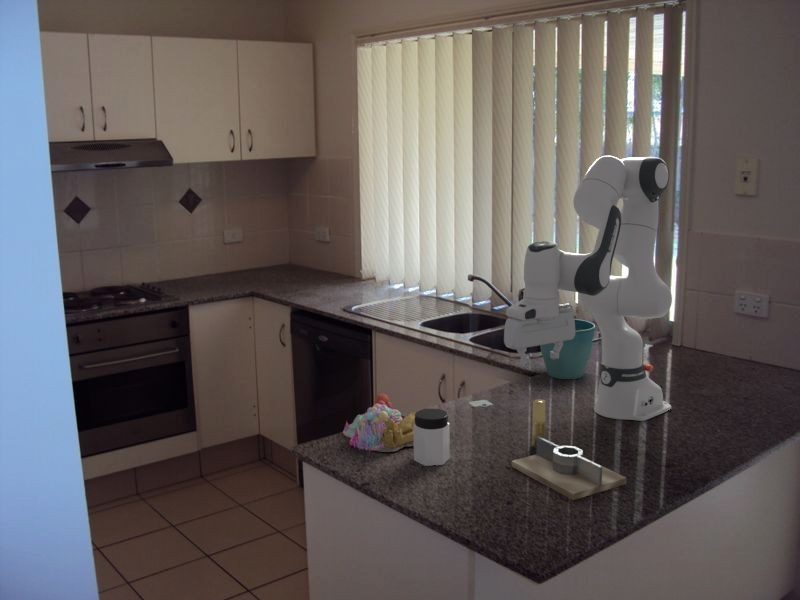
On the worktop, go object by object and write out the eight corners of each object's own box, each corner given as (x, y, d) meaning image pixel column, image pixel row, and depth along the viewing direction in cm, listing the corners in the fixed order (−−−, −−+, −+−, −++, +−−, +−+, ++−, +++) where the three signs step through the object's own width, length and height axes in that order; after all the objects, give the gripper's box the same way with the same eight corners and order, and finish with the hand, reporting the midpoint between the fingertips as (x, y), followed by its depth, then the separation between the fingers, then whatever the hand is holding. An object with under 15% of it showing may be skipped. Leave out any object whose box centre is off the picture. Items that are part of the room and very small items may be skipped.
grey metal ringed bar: (548, 451, 213) (548, 434, 212) (611, 482, 194) (612, 463, 193) (527, 456, 210) (527, 439, 209) (589, 488, 191) (589, 470, 190)
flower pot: (561, 363, 293) (562, 315, 290) (605, 375, 280) (606, 324, 276) (526, 374, 282) (526, 324, 278) (569, 386, 268) (570, 333, 265)
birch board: (562, 453, 215) (562, 447, 215) (626, 484, 197) (626, 477, 197) (511, 466, 208) (511, 460, 207) (572, 500, 189) (573, 493, 189)
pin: (539, 442, 223) (540, 398, 220) (547, 446, 220) (548, 402, 217) (529, 445, 221) (530, 400, 219) (537, 449, 218) (538, 404, 216)
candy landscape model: (449, 435, 230) (449, 402, 228) (390, 461, 213) (389, 426, 211) (381, 415, 246) (380, 384, 244) (321, 438, 229) (319, 405, 227)
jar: (423, 451, 218) (422, 406, 216) (453, 455, 215) (453, 410, 213) (409, 463, 210) (408, 417, 208) (440, 468, 207) (439, 421, 205)
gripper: (564, 300, 221) (563, 352, 223) (500, 309, 211) (500, 364, 213) (581, 304, 215) (580, 358, 218) (516, 314, 205) (515, 370, 208)
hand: (539, 361), depth 216 cm, fingers open, 8 cm apart
